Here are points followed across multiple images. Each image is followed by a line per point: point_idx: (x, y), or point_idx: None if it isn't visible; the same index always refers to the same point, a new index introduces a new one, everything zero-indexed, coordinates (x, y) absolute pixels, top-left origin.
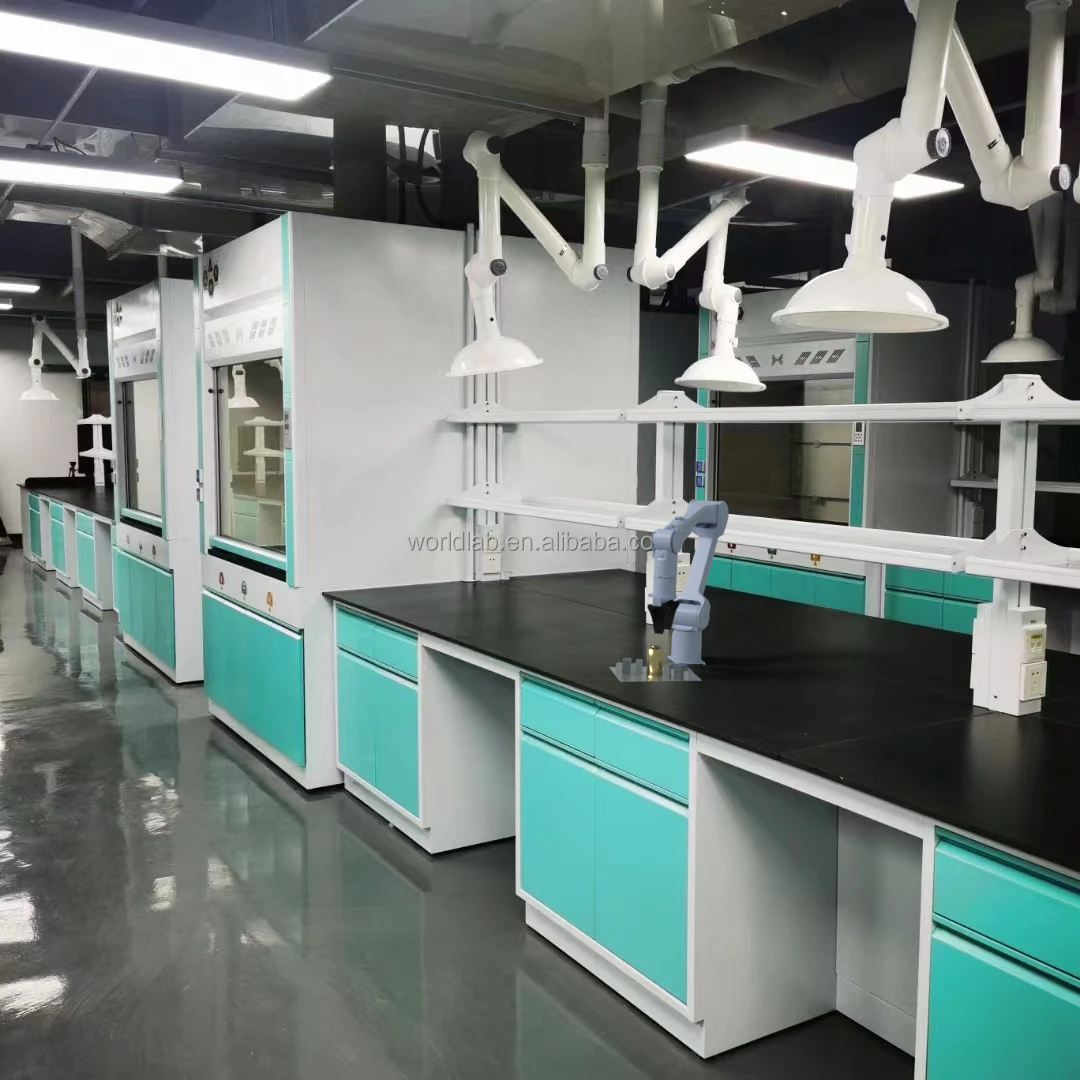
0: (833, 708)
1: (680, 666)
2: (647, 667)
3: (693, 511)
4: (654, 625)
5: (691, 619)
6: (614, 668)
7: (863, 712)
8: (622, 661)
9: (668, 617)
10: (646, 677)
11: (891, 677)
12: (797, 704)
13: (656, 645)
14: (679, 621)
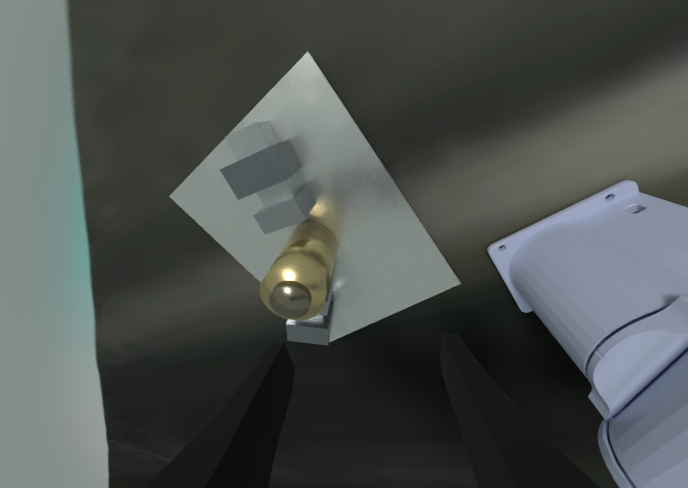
0: (303, 464)
1: (287, 338)
2: (288, 239)
3: None
4: (249, 384)
5: (641, 451)
6: (300, 88)
7: (308, 479)
8: (221, 169)
9: (468, 432)
10: (263, 239)
11: None
12: (292, 443)
13: (298, 304)
14: (681, 380)
